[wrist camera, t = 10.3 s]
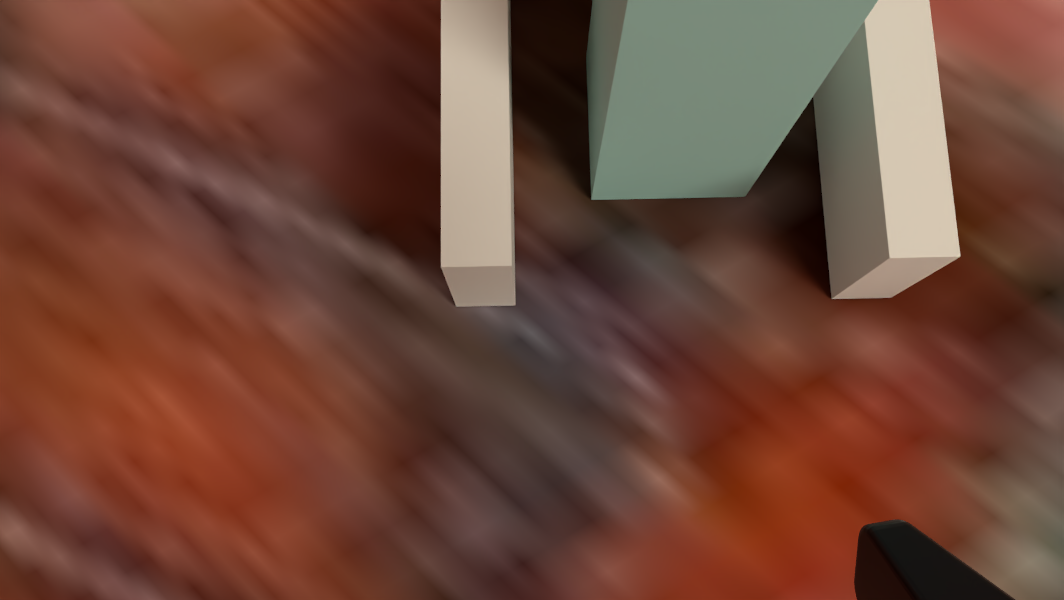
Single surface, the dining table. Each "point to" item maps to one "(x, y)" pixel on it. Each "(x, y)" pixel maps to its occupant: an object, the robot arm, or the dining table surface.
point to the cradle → (842, 137)
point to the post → (703, 89)
